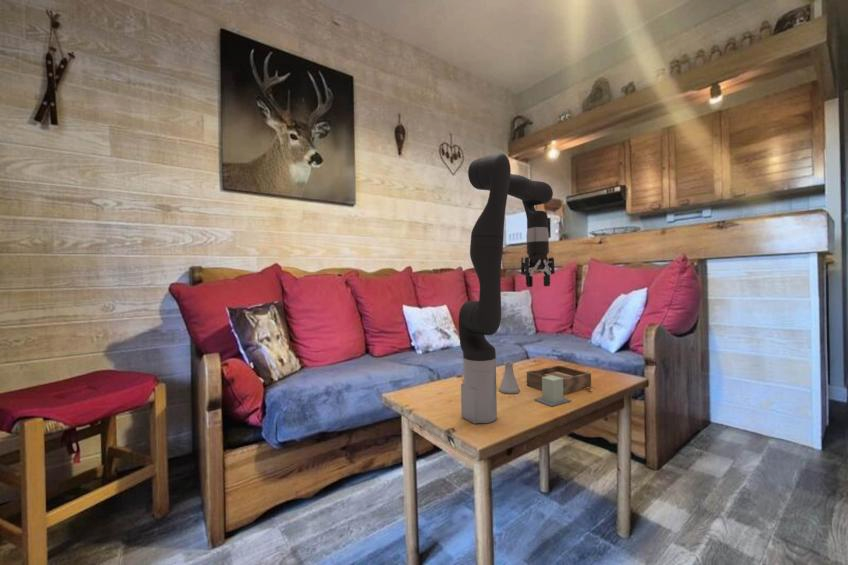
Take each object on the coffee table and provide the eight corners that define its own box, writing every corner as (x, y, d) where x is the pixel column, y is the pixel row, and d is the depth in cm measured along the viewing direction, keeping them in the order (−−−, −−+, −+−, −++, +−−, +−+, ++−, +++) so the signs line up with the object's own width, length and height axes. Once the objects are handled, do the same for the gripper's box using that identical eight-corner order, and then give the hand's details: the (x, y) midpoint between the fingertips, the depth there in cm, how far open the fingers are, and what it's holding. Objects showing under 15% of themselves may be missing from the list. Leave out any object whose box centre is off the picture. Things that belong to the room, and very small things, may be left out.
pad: (551, 407, 109) (551, 405, 109) (534, 400, 115) (534, 399, 115) (571, 401, 114) (571, 400, 114) (553, 395, 120) (553, 394, 120)
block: (553, 403, 111) (553, 380, 111) (542, 399, 115) (541, 377, 115) (563, 400, 113) (563, 378, 113) (551, 396, 117) (551, 375, 117)
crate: (558, 396, 119) (558, 381, 118) (526, 385, 131) (526, 371, 131) (591, 387, 127) (590, 373, 127) (558, 378, 139) (558, 365, 139)
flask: (518, 387, 128) (517, 360, 128) (521, 394, 121) (521, 365, 121) (497, 387, 129) (497, 360, 129) (500, 394, 122) (499, 365, 122)
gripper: (531, 239, 121) (531, 287, 121) (559, 240, 128) (560, 286, 128) (515, 241, 127) (516, 287, 128) (543, 242, 134) (544, 285, 135)
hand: (538, 286), depth 128 cm, fingers open, 8 cm apart
